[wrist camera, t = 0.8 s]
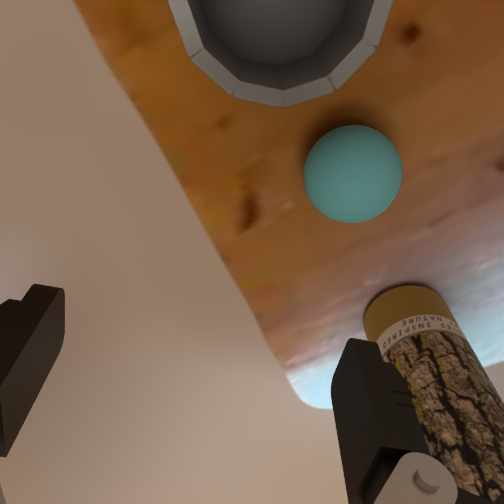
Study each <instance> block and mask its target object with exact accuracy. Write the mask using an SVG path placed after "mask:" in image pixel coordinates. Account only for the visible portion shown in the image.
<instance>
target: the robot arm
mask: <svg viewBox="0 0 504 504" xmlns="http://www.w3.org/2000/svg"><path fill="white" fill-rule="evenodd" d="M64 333H65V293H64V289H63V288H57V287H51V286H45V285H40V284H33V285H32V286H31V288H30V289H29V290H28V292H27V293H26V295H25V296H24V297H23V299H22V300H21V301H19V300H12V299H8V300H7V301H5V302H4V303H2V304H0V457H7V454H8V453H9V451H10V448H11V447H12V445H13V443H14V441H15V439H16V437H17V435H18V433H19V431H20V429H21V427H22V425H23V423H24V421H25V419H26V417H27V415H28V413H29V411H30V409H31V408H32V406H33V403H34V402H35V400H36V398H37V396H38V394H39V392H40V390H41V388H42V386H43V384H44V382H45V380H46V378H47V376H48V374H49V372H50V370H51V368H52V367H53V365H54V363H55V361H56V359H57V357H58V355H59V353H60V350H61V347H62V344H63V339H64ZM331 399H332V405H333V411H334V417H335V423H336V429H337V435H338V441H339V447H340V454H341V460H342V466H343V472H344V478H345V484H346V490H347V496H348V502H349V504H504V494H501V495H500V496H498V497H497V498H496V500H495V501H494V502H491V501H489V500H486V499H484V498H482V497H480V496H477V495H475V494H473V493H471V492H468V491H466V490H464V489H462V488H460V487H458V486H457V485H456V483H455V480H454V478H453V476H452V475H451V473H450V472H449V471H448V470H447V468H446V467H445V466H444V465H442V464H441V463H440V462H439V461H437V460H436V459H434V458H433V457H431V454H430V451H429V448H428V445H427V443H426V440H425V437H424V434H423V431H422V428H421V425H420V422H419V420H418V417H417V414H416V411H415V409H413V407H414V405H413V402H412V399H411V396H409V391H408V388H407V385H406V382H405V379H404V377H403V376H402V375H401V373H400V372H399V371H398V370H397V368H396V367H395V366H394V365H393V363H389V362H384V361H383V358H382V355H381V352H380V348H379V346H378V344H377V343H376V342H372V341H367V340H361V339H355V338H350V339H349V340H348V341H347V343H346V346H345V348H344V351H343V353H342V356H341V358H340V360H339V363H338V365H337V368H336V370H335V373H334V375H333V379H332V384H331ZM0 504H6V502H5V499H4V495H3V492H2V489H1V485H0Z"/></svg>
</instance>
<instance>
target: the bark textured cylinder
mask: <svg viewBox="0 0 504 504" xmlns="http://www.w3.org/2000/svg"><path fill="white" fill-rule="evenodd" d="M364 330H365V333H366V337H367V340H368V341H372V342H376V343H377V344H378V346H379V348H380V352H381V355H382V358H383V361H384V362H389V363H393V365H394V366H395V367H396V368H397V370H398V371H399V372H400V373H401V375H402V376H403V377H404V379H405V382H406V385H407V388H408V391H409V396H411V399H412V402H413V405H414V407H413V409H415V411H416V414H417V417H418V420H419V422H420V425H421V428H422V431H423V434H424V437H425V440H426V443H427V445H428V448H429V451H430V454H431V457H433V458H434V459H436V460H437V461H439V462H440V463H441V464H442V465H444V466H445V467H446V468H447V470H448V471H449V472H450V473H451V475H452V476H453V478H454V480H455V483H456V485H457V486H458V487H460V488H462V489H464V490H466V491H468V492H471V493H473V494H475V495H477V496H480V497H482V498H484V499H486V500H489V501H491V502H494V501H495V500H496V498H497V497H498V496H500V495H501V494H504V403H503V401H502V400H501V398H500V396H499V394H498V393H497V391H496V389H495V388H494V386H493V384H492V382H491V381H490V379H489V377H488V376H487V374H486V372H485V370H484V368H483V367H482V365H481V363H480V361H479V360H478V358H477V356H476V355H475V353H474V351H473V349H472V348H471V346H470V344H469V342H468V341H467V339H466V337H465V335H464V334H463V332H462V330H461V329H460V327H459V326H458V324H457V322H456V321H455V319H454V317H453V315H452V314H451V312H450V310H449V308H448V307H447V305H446V303H445V301H444V300H443V299H442V298H441V296H440V295H439V294H437V293H436V292H434V291H433V290H431V289H428V288H425V287H421V286H415V285H406V286H400V287H396V288H393V289H390V290H388V291H386V292H384V293H383V294H381V295H380V296H379V297H377V298H376V299H375V300H374V301H373V302H372V304H371V305H370V306H369V308H368V310H367V312H366V314H365V317H364Z"/></svg>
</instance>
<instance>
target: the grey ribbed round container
mask: <svg viewBox="0 0 504 504" xmlns="http://www.w3.org/2000/svg"><path fill="white" fill-rule="evenodd" d="M168 3H169V5H170V8H171V11H172V13H173V16H174V19H175V22H176V24H177V27H178V30H179V32H180V35H181V38H182V40H183V43H184V46H185V49H186V51H187V54H188V57H190V56H192V55H193V57H192V59H191V61H192V62H193V63H195V64H196V65H197V66H198V67H199V68H200V69H201V70H202V71H203V72H205V73H206V74H207V75H208V76H209V77H210V78H211V79H212V80H213V81H215V82H216V83H217V84H218V85H219V86H220V87H221V88H222V89H223V90H225V91H226V92H227V93H228V94H229V95H230V96H231V95H232V93H233V92H234V98H239V99H243V100H248V101H253V102H257V103H262V104H267V105H271V106H276V107H281V108H282V107H283V103H285V107H289V106H292V105H295V104H298V103H302V102H305V101H308V100H311V99H314V98H317V97H320V96H323V95H326V94H329V93H332V92H334V89H333V86H334V87H335V88H336V89H337V90H338V89H339V88H340V87H341V86H342V84H343V83H344V82H345V81H346V80H347V79H348V78H349V77H350V76H351V75H352V74H353V73H354V72H355V71H356V70H357V69H358V68H359V67H360V66H361V65H362V64H363V63H364V62H365V61H366V60H367V59H368V58H369V57H370V55H371V54H372V53H373V52H374V51H375V50H376V49H375V48H374V47H373V46H372V45H376V46H378V45H379V42H380V39H381V36H382V33H383V30H384V27H385V24H386V21H387V18H388V15H389V12H390V9H391V6H392V3H393V0H168Z"/></svg>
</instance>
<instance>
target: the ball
mask: <svg viewBox="0 0 504 504" xmlns="http://www.w3.org/2000/svg"><path fill="white" fill-rule="evenodd" d="M303 177H304V186H305V190H306V192H307V195H308V197H309V199H310V201H311V202H312V203H313V205H314V206H315V207H316V208H317V209H318V210H319V211H320V212H321V213H322V214H324V215H325V216H327V217H329V218H331V219H333V220H336V221H339V222H345V223H358V222H363V221H367V220H370V219H372V218H374V217H376V216H378V215H379V214H381V213H382V212H383V211H385V210H386V209H387V208H388V207H389V206H390V204H391V203H392V202H393V200H394V199H395V197H396V196H397V194H398V191H399V189H400V186H401V181H402V164H401V159H400V156H399V154H398V151H397V150H396V148H395V146H394V145H393V143H392V142H391V141H390V140H389V139H388V138H387V137H386V136H385V135H384V134H382V133H381V132H379V131H377V130H375V129H373V128H370V127H367V126H362V125H348V126H343V127H339V128H336V129H333V130H332V131H330V132H328V133H326V134H325V135H324V136H322V137H321V138H320V139H319V140H318V141H317V142H316V143H315V144H314V146H313V147H312V149H311V150H310V152H309V154H308V156H307V159H306V162H305V166H304V173H303Z"/></svg>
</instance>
